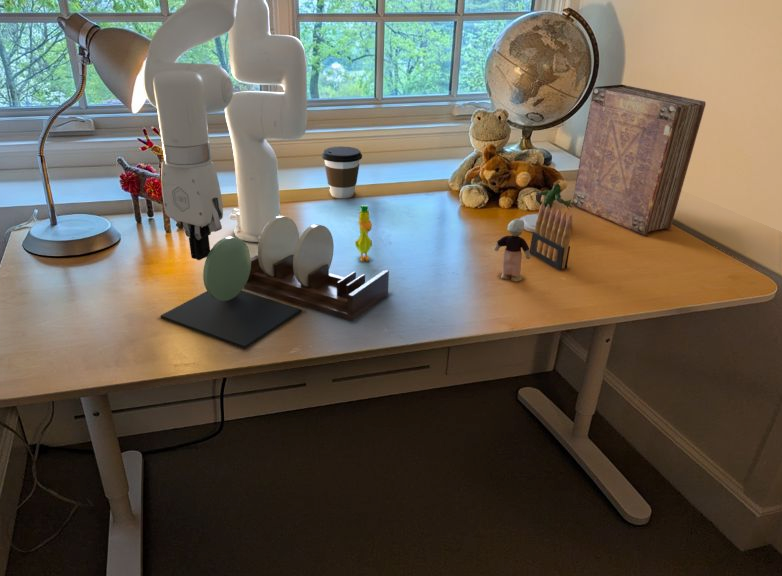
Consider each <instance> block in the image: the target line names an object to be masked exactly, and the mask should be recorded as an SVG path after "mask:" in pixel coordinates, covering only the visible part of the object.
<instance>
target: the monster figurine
mask: <svg viewBox="0 0 782 576" xmlns="http://www.w3.org/2000/svg"><path fill="white" fill-rule="evenodd" d="M561 192H562V186H561V184H560V183H559V182H557V183H555V185H554V186H552V188H551V189H547V190H541V191H538V192H535V201H536V202H537V203H538V204H539V206H541V204H542V202H544V205H545V209H546V207H547V205H548V204H549V205H550V210H552V208H553V204H554V202H555V201H557V202H558V203H559V204H561V205H564V206H566V208H567V209H568V210H570V208H571V209H573V206H572V204H573V203H572V202H571V201H572V199H570V200H564V199H562V198H561V197H562V195H561ZM542 196H545V197H544V199H543V200H544V201H542ZM569 207H570V208H569ZM544 213H545V211H544ZM538 214H539V213H533V214H526V215H523V216H521V217H520V218H519V219H521V220H523V221H524V229H523V230H525V231H527V232H530V233H533V232H535V226H536V221H537V218H538ZM549 217H550V216H549ZM555 217H556V215H555ZM560 221H561V220H560Z"/></svg>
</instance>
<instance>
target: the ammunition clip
mask: <svg viewBox="0 0 782 576" xmlns="http://www.w3.org/2000/svg"><path fill="white" fill-rule="evenodd" d="M541 202H542V204H541V205H539V210H538V213H537V214H538V218H537V221H536V226H535V232H532V236H531V240H530V246H529V251H530V255H531V256H533V257H535V258H537V259H539V260H541V261H542V262H544V263H546V264H547V265H549V266H551V267H553V268H554V269H556V270H558V271H562V270H566V269H567V268H568V262H569V256H570V250H571V246H570V242H571V237H572V226H573V216H572V214H569V216H568V217H567V212H566V211H564V212H563V214H562V211H561V209H560V208H559V209H558V210H557V211H556V207H555V206H552V207H551V209H550V205H549V204H548V205H547V207H546V209H545V205H544V201H541ZM544 211H545V213H544ZM549 216H550V217H549ZM555 216H556V217H555ZM560 220H561V221H560Z"/></svg>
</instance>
